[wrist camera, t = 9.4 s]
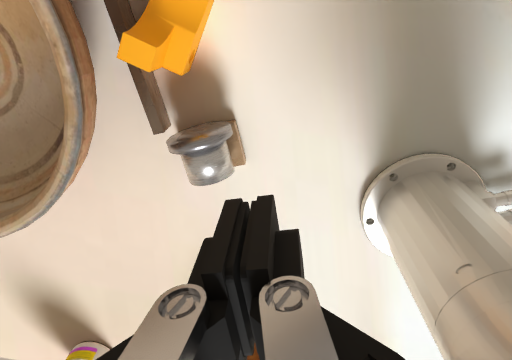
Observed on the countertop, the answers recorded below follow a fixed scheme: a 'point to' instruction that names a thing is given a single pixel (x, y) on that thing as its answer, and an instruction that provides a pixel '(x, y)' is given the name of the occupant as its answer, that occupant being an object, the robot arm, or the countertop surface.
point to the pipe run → (189, 140)
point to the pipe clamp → (166, 35)
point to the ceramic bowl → (41, 107)
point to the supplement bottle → (87, 351)
